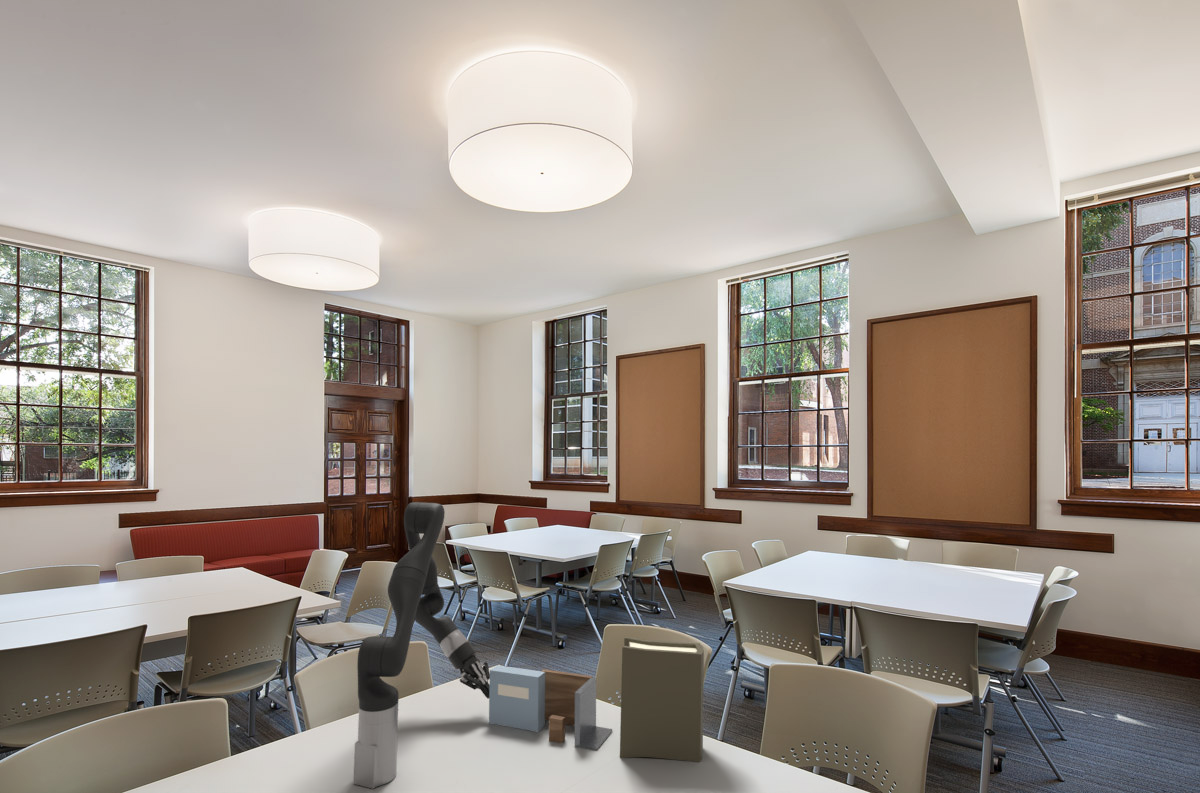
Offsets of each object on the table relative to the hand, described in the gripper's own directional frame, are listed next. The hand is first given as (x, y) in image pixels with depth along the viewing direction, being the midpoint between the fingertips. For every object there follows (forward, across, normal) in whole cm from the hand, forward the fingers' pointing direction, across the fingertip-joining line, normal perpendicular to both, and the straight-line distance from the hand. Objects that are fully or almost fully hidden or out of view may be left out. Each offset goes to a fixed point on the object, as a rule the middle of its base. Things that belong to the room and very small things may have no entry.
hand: (491, 696), depth 181 cm
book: (+42, -1, -33) cm, 53 cm away
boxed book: (+11, 0, -1) cm, 11 cm away
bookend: (+28, 0, -19) cm, 34 cm away
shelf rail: (+16, +1, -6) cm, 17 cm away
